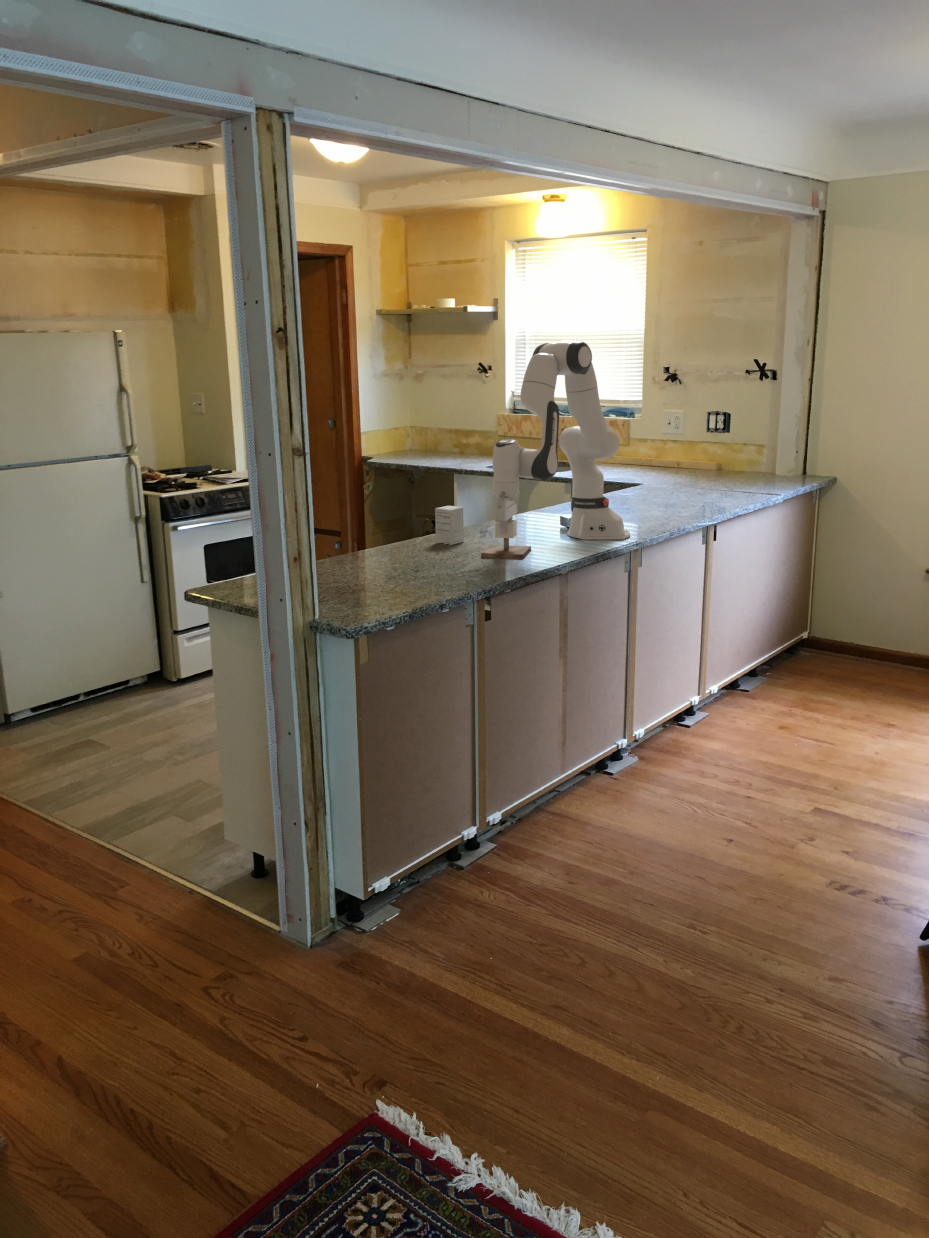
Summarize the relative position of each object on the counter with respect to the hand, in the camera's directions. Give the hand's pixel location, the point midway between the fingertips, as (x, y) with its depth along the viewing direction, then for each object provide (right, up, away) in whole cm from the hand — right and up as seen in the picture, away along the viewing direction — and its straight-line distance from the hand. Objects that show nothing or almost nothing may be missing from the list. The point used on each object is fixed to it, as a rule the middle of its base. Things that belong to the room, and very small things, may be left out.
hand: (506, 531), depth 331 cm
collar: (0, -2, 0) cm, 2 cm away
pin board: (0, -7, +2) cm, 8 cm away
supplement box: (-19, -2, +23) cm, 30 cm away
